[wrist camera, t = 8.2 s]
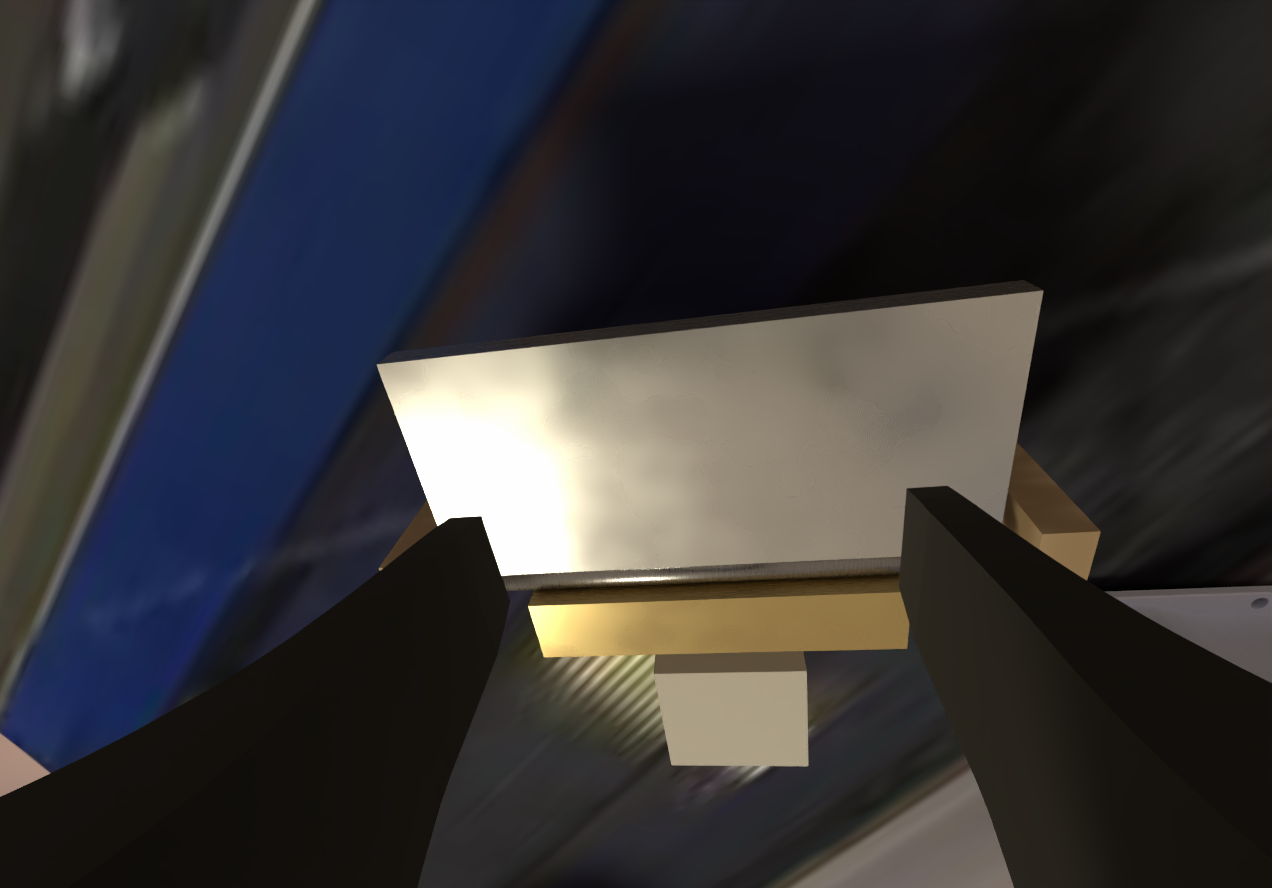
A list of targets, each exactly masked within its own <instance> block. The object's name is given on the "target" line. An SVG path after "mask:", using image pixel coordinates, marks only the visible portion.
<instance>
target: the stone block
mask: <svg viewBox="0 0 1272 888" xmlns="http://www.w3.org/2000/svg"><path fill="white" fill-rule="evenodd" d="M654 677H655V682H656V688H657V693H658V698H659V703H660V708H661V713H662V718H663V724H664V729H665V734H666V739H667V744H668V749H669V754H670V760H671V765H720V766H808V722H807V671H806V665H805V660H804V654H803V651H785V652H742V653H699V654H656V656H655V667H654Z"/></svg>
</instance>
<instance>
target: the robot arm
mask: <svg viewBox="0 0 1272 888" xmlns="http://www.w3.org/2000/svg"><path fill="white" fill-rule="evenodd" d="M899 589H900V592H901V596H902V599H903V603H904V606H905V610H906V613H907V617H908V620H909V623H910V627H911V630H912V633H913V636H914V640H915V643H916V645H917V647H918V650H919V652H920V655H921V657H922V659H923V661H924V664H925V666H926V668H927V671H928V673H929V675H930V677H931V680H932V682H933V684H934V687H935V689H936V691H937V693H938V696H939V698H940V700H941V702H942V705H943V707H944V709H945V711H946V714H947V716H948V718H949V720H950V723H951V725H952V727H953V729H954V732H955V734H956V736H957V738H958V741H959V743H960V745H961V747H962V750H963V752H964V754H965V756H966V759H967V761H968V763H969V765H970V768H971V770H972V772H973V774H974V777H975V779H976V781H977V784H978V786H979V789H980V791H981V794H982V796H983V799H984V801H985V804H986V806H987V809H988V811H989V814H990V817H991V820H992V823H993V826H994V829H995V832H996V835H997V838H998V841H999V844H1000V847H1001V849H1002V852H1003V855H1004V858H1005V861H1006V864H1007V867H1008V870H1009V873H1010V876H1011V879H1012V882H1013V885H1014V888H1272V586H1246V587H1218V588H1190V589H1163V590H1135V591H1107V592H1105V591H1103V590H1101V589H1100V588H1098V587H1096V586H1095V585H1093V584H1091V583H1090V582H1088V581H1087V580H1085V579H1084V578H1082V577H1080V576H1079V575H1077V574H1076V573H1074V572H1073V571H1071V570H1069V569H1068V568H1066V567H1065V566H1063V565H1062V564H1060V563H1059V562H1057V561H1056V560H1054V559H1053V558H1051V557H1050V556H1048V555H1047V554H1045V553H1044V552H1042V551H1041V550H1039V549H1038V548H1036V547H1035V546H1034V545H1032V544H1031V543H1029V542H1028V541H1026V540H1025V539H1023V538H1022V537H1020V536H1019V535H1018V534H1016V533H1015V532H1013V531H1012V530H1010V529H1009V528H1008V527H1006V526H1005V525H1003V524H1002V523H1001V522H999V521H998V520H996V519H995V518H993V517H992V516H991V515H989V514H988V513H986V512H985V511H984V510H982V509H981V508H979V507H978V506H977V505H975V504H974V503H972V502H971V501H970V500H968V499H967V498H965V497H964V496H962V495H961V494H959V493H958V492H956V491H955V490H953V489H952V488H950V487H949V486H935V487H919V488H907V489H906V502H905V514H904V526H903V539H902V551H901V563H900V576H899ZM509 604H510V600H509V597H508V594H507V591H506V588H505V585H504V582H503V579H502V576H501V573H500V570H499V567H498V564H497V561H496V558H495V555H494V552H493V549H492V546H491V542H490V539H489V536H488V533H487V530H486V527H485V524H484V521H483V518H482V516H469V517H453V518H449V519H447V520H446V521H444V522H443V523H441V524H440V525H438V526H437V527H436V528H434V529H433V530H432V531H430V532H429V533H428V534H426V535H425V536H424V537H422V538H421V539H420V540H418V541H417V542H416V543H415V544H413V545H412V546H411V547H410V548H408V549H407V550H406V551H404V552H403V553H402V554H401V555H399V556H398V557H397V558H396V559H394V560H393V561H392V562H391V563H389V564H388V565H387V566H386V567H384V568H383V569H382V570H380V571H379V572H378V573H377V574H375V575H374V576H373V577H372V578H370V579H369V580H368V581H366V582H365V583H364V584H363V585H361V586H360V587H359V588H358V589H356V590H355V591H354V592H352V593H351V594H350V595H348V596H347V597H346V598H344V599H343V600H342V601H340V602H339V603H337V604H336V605H335V606H333V607H332V608H331V609H329V610H328V611H327V612H325V613H324V614H322V615H321V616H320V617H318V618H317V619H316V620H314V621H313V622H312V623H310V624H309V625H307V626H306V627H305V628H303V629H302V630H301V631H299V632H298V633H297V634H295V635H294V636H292V637H291V638H289V639H288V640H286V641H285V642H283V643H282V644H281V645H279V646H278V647H276V648H275V649H273V650H272V651H270V652H269V653H267V654H266V655H264V656H262V657H261V658H259V659H258V660H256V661H255V662H253V663H251V664H250V665H248V666H247V667H245V668H244V669H242V670H240V671H239V672H237V673H236V674H234V675H232V676H231V677H229V678H228V679H226V680H224V681H223V682H221V683H219V684H218V685H216V686H214V687H213V688H211V689H209V690H207V691H206V692H204V693H202V694H200V695H199V696H197V697H195V698H193V699H192V700H190V701H188V702H186V703H184V704H183V705H181V706H179V707H177V708H176V709H174V710H172V711H170V712H168V713H167V714H165V715H163V716H161V717H160V718H158V719H156V720H154V721H152V722H151V723H149V724H147V725H145V726H144V727H142V728H140V729H138V730H136V731H134V732H132V733H131V734H129V735H127V736H125V737H123V738H121V739H119V740H117V741H115V742H113V743H111V744H109V745H107V746H105V747H103V748H101V749H99V750H97V751H95V752H94V753H92V754H90V755H88V756H86V757H84V758H82V759H79V760H77V761H75V762H73V763H71V764H69V765H67V766H65V767H63V768H61V769H59V770H57V771H55V772H53V773H51V774H49V775H47V776H44V777H42V778H41V779H38V780H36V781H34V782H32V783H30V784H27V785H25V786H23V787H21V788H19V789H17V790H14V791H13V792H10V793H8V794H6V795H3V796H1V797H0V888H417V887H418V883H419V879H420V875H421V871H422V867H423V864H424V860H425V857H426V853H427V850H428V846H429V843H430V839H431V836H432V832H433V829H434V825H435V822H436V818H437V815H438V811H439V808H440V804H441V801H442V798H443V795H444V793H445V790H446V787H447V784H448V781H449V778H450V775H451V773H452V770H453V768H454V765H455V762H456V760H457V757H458V755H459V752H460V750H461V747H462V745H463V742H464V739H465V737H466V734H467V732H468V729H469V727H470V724H471V722H472V719H473V716H474V714H475V711H476V709H477V706H478V704H479V701H480V699H481V696H482V693H483V691H484V688H485V686H486V683H487V680H488V678H489V675H490V672H491V670H492V667H493V664H494V662H495V659H496V656H497V654H498V650H499V646H500V642H501V638H502V634H503V630H504V626H505V622H506V617H507V613H508V608H509Z"/></svg>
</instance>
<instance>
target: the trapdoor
mask: <svg viewBox="0 0 1272 888" xmlns="http://www.w3.org/2000/svg"><path fill="white" fill-rule="evenodd" d="M1042 296H1043V290H1042V289H1040V288H1038V287H1036V286H1034V285H1032V284H1030V283H1028V282H1027V281H1025V280H1021V281H1013V282H1004V283H995V284H986V285H978V286H969V287H960V288H951V289H943V290H934V291H925V292H916V293H907V294H899V295H890V296H881V297H872V298H864V299H855V300H846V301H837V302H829V303H820V304H811V305H802V306H794V307H785V308H776V309H767V310H759V311H750V312H741V313H732V314H724V315H715V316H706V317H697V318H689V319H680V320H671V321H662V322H654V323H645V324H636V325H627V326H619V327H610V328H601V329H592V330H584V331H575V332H566V333H557V334H549V335H540V336H531V337H522V338H514V339H505V340H496V341H487V342H479V343H470V344H461V345H452V346H444V347H435V348H426V349H417V350H409V351H400V352H392V353H391V354H390V355H388V356H387V357H386V358H384V359H383V360H382V361H381V362H379V363H378V364H377V367H378V370H379V372H380V375H381V378H382V380H383V383H384V386H385V388H386V391H387V393H388V396H389V399H390V401H391V404H392V407H393V409H394V412H395V415H396V417H397V420H398V422H399V425H400V428H401V430H402V433H403V436H404V438H405V441H406V444H407V446H408V449H409V452H410V454H411V457H412V459H413V462H414V465H415V467H416V470H417V473H418V475H419V478H420V481H421V483H422V486H423V488H424V491H425V494H426V496H427V499H428V502H429V504H430V507H431V510H432V512H433V515H434V517H435V520H436V523H437V525H440V524H441V523H443V522H444V521H446V520H447V519H449V518H453V517H469V516H482V518H483V521H484V524H485V527H486V530H487V533H488V536H489V539H490V542H491V546H492V549H493V552H494V555H495V558H496V561H497V564H498V567H499V570H500V573H501V576H502V579H503V582H504V585H505V588H506V591H519V590H534V592H533V594H532V597H531V600H530V603H529V606H528V607H529V610H530V613H531V617H532V620H533V623H534V626H535V629H536V632H537V636H538V639H539V642H540V645H541V648H542V651H543V655H544V657H571V656H614V655H656V654H699V653H742V652H785V651H828V650H871V649H907V642H908V632H909V620H908V617H907V613H906V610H905V606H904V603H903V599H902V596H901V592H900V589H899V576H900V563H901V551H902V539H903V526H904V514H905V502H906V489H907V488H919V487H935V486H949V487H950V488H952V489H953V490H955V491H956V492H958V493H959V494H961V495H962V496H964V497H965V498H967V499H968V500H970V501H971V502H972V503H974V504H975V505H977V506H978V507H979V508H981V509H982V510H984V511H985V512H986V513H988V514H989V515H991V516H992V517H993V518H995V519H996V520H998V521H999V522H1001V523H1002V521H1003V515H1004V510H1005V504H1006V499H1007V493H1008V487H1009V482H1010V476H1011V470H1012V465H1013V459H1014V454H1015V448H1016V442H1017V437H1018V431H1019V425H1020V420H1021V414H1022V409H1023V403H1024V397H1025V392H1026V386H1027V380H1028V375H1029V369H1030V364H1031V358H1032V352H1033V347H1034V341H1035V335H1036V330H1037V324H1038V318H1039V313H1040V307H1041V302H1042Z"/></svg>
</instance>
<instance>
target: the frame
mask: <svg viewBox="0 0 1272 888" xmlns="http://www.w3.org/2000/svg"><path fill="white" fill-rule="evenodd" d="M1002 524H1003V525H1005V526H1006V527H1008V528H1009V529H1010V530H1012V531H1013V532H1015V533H1016V534H1018V535H1019V536H1020V537H1022V538H1023V539H1025V540H1026V541H1028V542H1029V543H1031V544H1032V545H1034V546H1035V547H1036V548H1038V549H1039V550H1041V551H1042V552H1044V553H1045V554H1047V555H1048V556H1050V557H1051V558H1053V559H1054V560H1056V561H1057V562H1059V563H1060V564H1062V565H1063V566H1065V567H1066V568H1068V569H1069V570H1071V571H1073V572H1074V573H1076V574H1077V575H1079V576H1080V577H1082V578H1084V579H1085V580H1087V579H1088V575H1089V572H1090V568H1091V565H1092V561H1093V557H1094V554H1095V550H1096V547H1097V543H1098V539H1099V536H1100V532H1101V531H1100V530H1099V529H1098V528H1097V527H1096V526H1095V525H1094V524H1093V523H1092V522H1091V521H1090V519H1089V518H1088V517H1087V516H1086V515H1085V514H1084V513H1083V512H1082V511H1081V510H1080V509H1079V508H1078V507H1077V506H1076V505H1075V504H1074V502H1073V501H1072V500H1071V499H1070V498H1069V497H1068V496H1067V495H1066V494H1065V493H1064V492H1063V491H1062V490H1061V489H1060V488H1059V487H1058V485H1057V484H1056V483H1055V482H1054V481H1053V480H1052V479H1051V478H1050V477H1049V476H1048V475H1047V474H1046V473H1045V472H1044V471H1043V469H1042V468H1041V467H1040V466H1039V465H1038V464H1037V463H1036V462H1035V461H1034V460H1033V459H1032V458H1031V457H1030V456H1029V455H1028V454H1027V452H1026V451H1025V450H1024V449H1023V448H1022V447H1021V446H1020V445H1019V444H1018V443H1017V442H1016V448H1015V454H1014V459H1013V465H1012V470H1011V476H1010V482H1009V487H1008V493H1007V499H1006V504H1005V510H1004V515H1003V521H1002ZM437 526H438V525H437V523H436V520H435V517H434V515H433V512H432V510H431V507H430V504H429V502H428V500H427V501H426V502H425V504H424V505H423V507H422V508H421V509H420V511H419V512H418V514H417V515H416V516H415V518H414V519H413V521H412V522H411V523H410V525H409V526H408V528H407V529H406V530H405V532H404V533H403V535H402V536H401V537H400V539H399V540H398V542H397V543H396V544H395V546H394V547H393V549H392V550H391V551H390V553H389V554H388V556H387V557H386V558H385V560H384V561H383V562H382V564H381V565H380V567H379V570H382V569H383V568H384V567H386V566H387V565H388V564H389V563H391V562H392V561H393V560H394V559H396V558H397V557H398V556H399V555H401V554H402V553H403V552H404V551H406V550H407V549H408V548H410V547H411V546H412V545H413V544H415V543H416V542H417V541H418V540H420V539H421V538H422V537H424V536H425V535H426V534H428V533H429V532H430V531H432V530H433V529H434V528H436V527H437Z"/></svg>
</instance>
